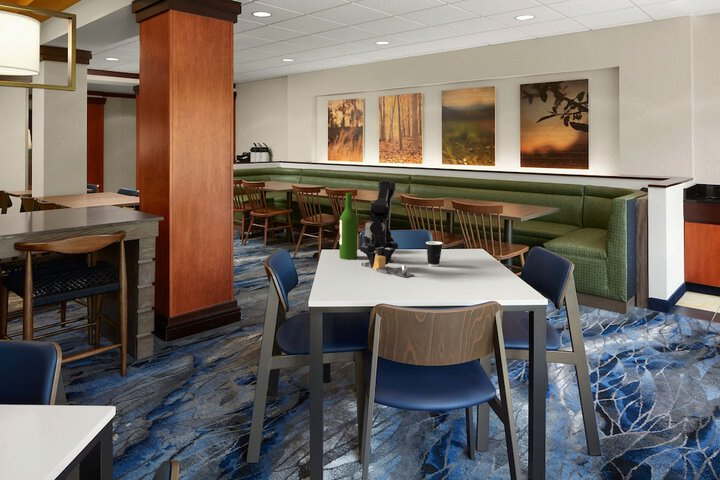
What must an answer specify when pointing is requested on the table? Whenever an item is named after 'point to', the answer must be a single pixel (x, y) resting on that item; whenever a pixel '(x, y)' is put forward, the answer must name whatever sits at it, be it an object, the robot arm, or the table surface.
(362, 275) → the table surface
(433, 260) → the dixie cup
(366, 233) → the coffee box
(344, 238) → the wine bottle
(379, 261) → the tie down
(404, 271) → the keeper
